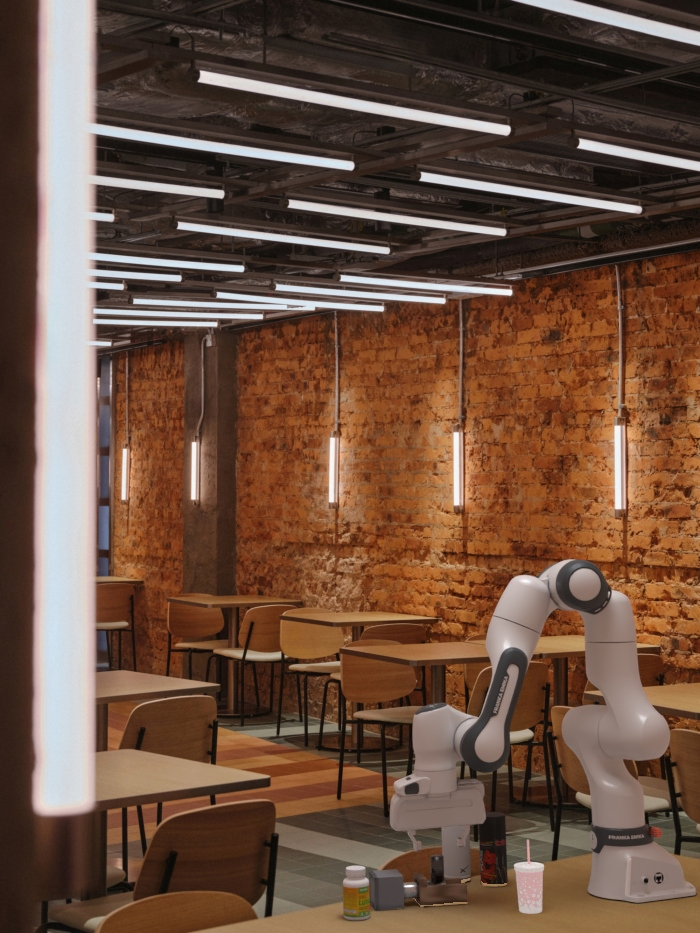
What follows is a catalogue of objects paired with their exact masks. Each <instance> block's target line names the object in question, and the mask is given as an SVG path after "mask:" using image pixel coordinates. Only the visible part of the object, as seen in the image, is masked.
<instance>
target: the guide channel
mask: <svg viewBox="0 0 700 933" xmlns="http://www.w3.org/2000/svg"><path fill="white" fill-rule="evenodd" d="M412 874H413V882H419V898H415V899H416V901H417V902H418V903H419V904H420V905H433V904H444V903H453V902H468V903H469V901H468V897H469V896H468V884H467V883H461V878H444V880H445V882H446V885H431V886H427V881H431V878H430V879H427V878H426V877H425V876H424V874H423V873H421V872H420V871H419V872H412ZM416 901H415V902H416Z"/></svg>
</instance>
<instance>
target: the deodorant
mask: <svg viewBox="0 0 700 933" xmlns="http://www.w3.org/2000/svg"><path fill="white" fill-rule="evenodd" d="M485 813H486V820H485V821H484V823H483V824H478V840H479V841H478V842H479V868H480V875H479V876H480V882H481V881H482V882H483V883H487V884H504V883H507V882H508V859H507V858H508V857H507V856H508V855H507V851H508V850H507V828H506V814H505V813H504V812H500V811H499V812H498V811H485ZM508 883H509V882H508Z"/></svg>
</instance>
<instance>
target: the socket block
mask: <svg viewBox="0 0 700 933" xmlns="http://www.w3.org/2000/svg"><path fill="white" fill-rule="evenodd" d="M368 880H369V887H370V906H371V907H372V908H373V909H374V911H375V912H377V911H379V912H380V911H389V910H391V911H393V910H392V909H394V910H398V909H397V908H404V909H405V899H404V886H403V883H404V875H403V874H402V873H401V872H400V871H399V869H381V870H380V869H379V870H369V871H368Z"/></svg>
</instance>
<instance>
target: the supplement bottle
mask: <svg viewBox="0 0 700 933" xmlns="http://www.w3.org/2000/svg"><path fill="white" fill-rule="evenodd" d="M366 873H367V871H366V867H365V866H363V865H349V866H346V867H345V876H346V877H345V878H344V879H343V881H342V903H343V904H342V909H343V911H342V912H343V918H344V919H345V920H347V921H365V920H367V919H369V918H370V916H371V904H370V887H369V878H367V877H366Z"/></svg>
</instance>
